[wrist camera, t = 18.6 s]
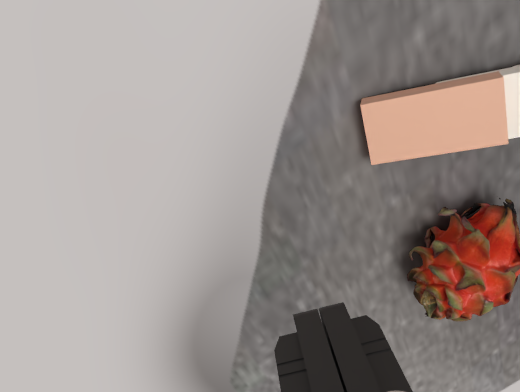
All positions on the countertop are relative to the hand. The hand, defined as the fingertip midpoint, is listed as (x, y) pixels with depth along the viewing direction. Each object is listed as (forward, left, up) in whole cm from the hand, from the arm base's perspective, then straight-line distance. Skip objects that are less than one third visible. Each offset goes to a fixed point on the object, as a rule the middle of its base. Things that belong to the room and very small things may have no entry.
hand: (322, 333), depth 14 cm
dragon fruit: (-15, -15, -27) cm, 34 cm away
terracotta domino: (-3, -8, -26) cm, 28 cm away
